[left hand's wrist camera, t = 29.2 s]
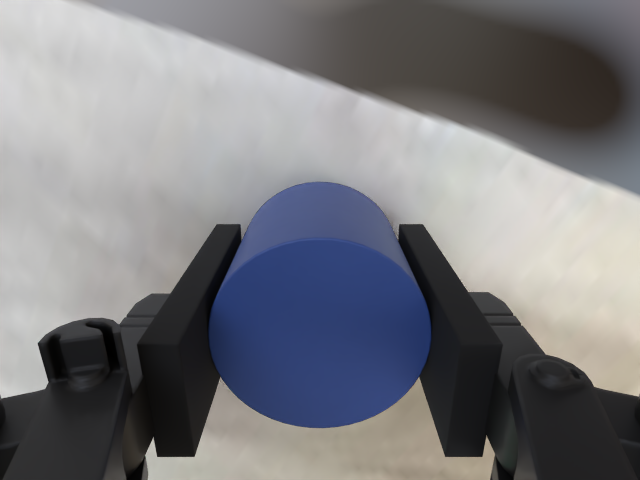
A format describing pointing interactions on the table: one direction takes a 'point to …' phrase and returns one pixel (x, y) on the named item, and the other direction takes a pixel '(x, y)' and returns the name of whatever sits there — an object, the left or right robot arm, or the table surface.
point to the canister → (319, 311)
